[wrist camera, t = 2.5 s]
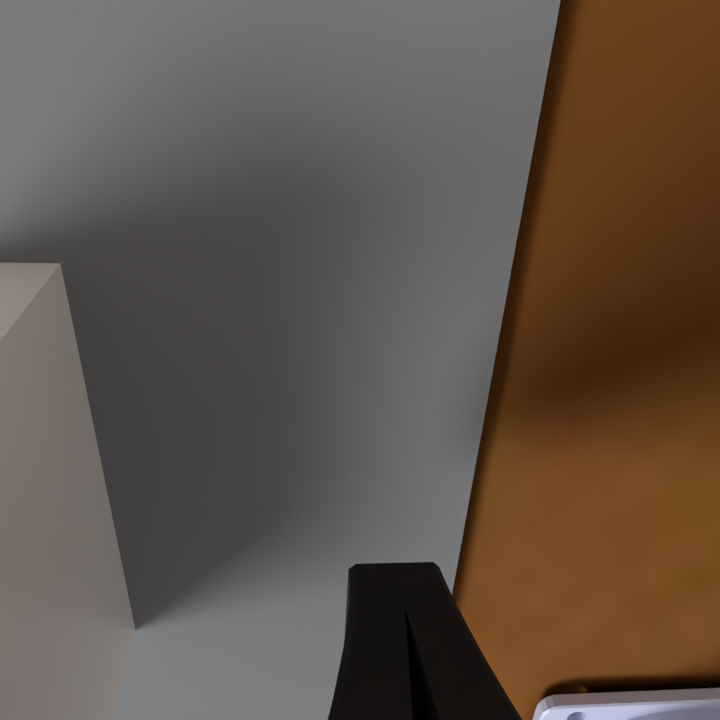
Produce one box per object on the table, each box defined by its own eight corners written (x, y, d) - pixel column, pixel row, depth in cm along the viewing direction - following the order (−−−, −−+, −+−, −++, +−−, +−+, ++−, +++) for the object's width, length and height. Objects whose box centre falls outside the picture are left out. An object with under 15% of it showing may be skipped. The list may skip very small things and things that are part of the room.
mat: (559, -50, 9) (571, -49, 9) (425, 712, 18) (428, 728, 18) (-804, -130, 8) (-864, -134, 7) (-190, 738, 17) (-202, 757, 17)
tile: (59, 263, 10) (-179, 570, 5) (135, 630, 15) (48, 977, 10) (-48, 261, 10) (-399, 574, 5) (62, 632, 15) (-64, 986, 10)
